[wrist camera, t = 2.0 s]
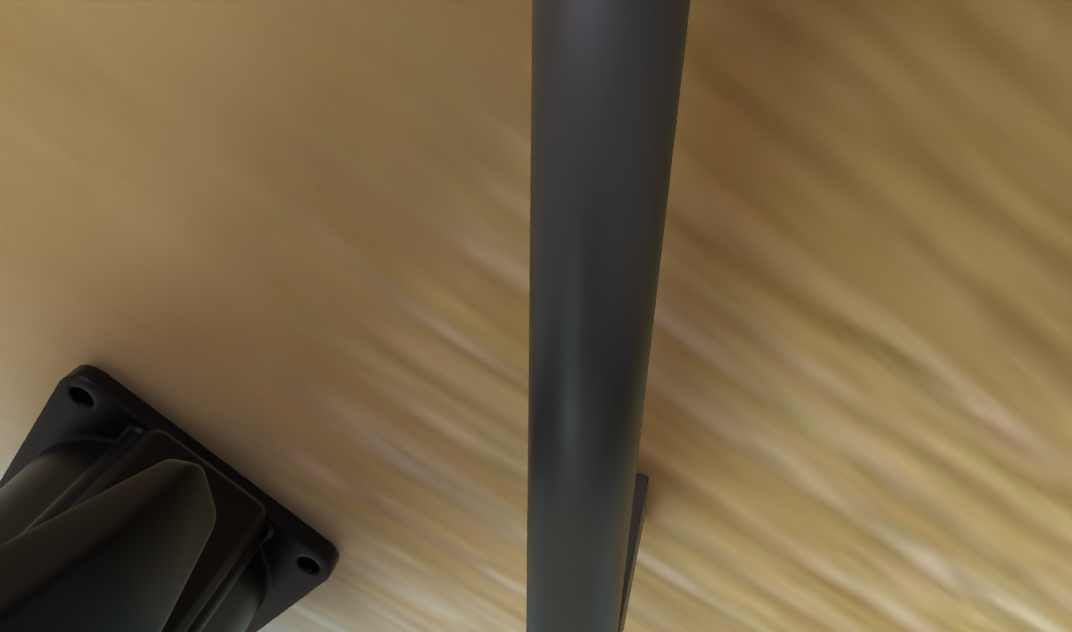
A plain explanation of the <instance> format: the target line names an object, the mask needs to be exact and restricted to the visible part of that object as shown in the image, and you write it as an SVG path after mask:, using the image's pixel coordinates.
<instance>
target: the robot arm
mask: <svg viewBox="0 0 1072 632" xmlns="http://www.w3.org/2000/svg"><path fill="white" fill-rule="evenodd" d="M338 561H339V553H338V551H337V549H336V548H335V546H334V545H333V544H332V543H331V542H329V541H328V540H327V539H326V538H324V537H323V536H322V535H320V534H319V533H318V532H316V531H315V530H314V529H312V528H311V527H310V526H308V525H307V524H306V523H304V522H303V521H302V520H300V519H299V518H298V517H296V516H295V515H294V514H292V513H291V512H290V511H288V510H287V509H286V508H284V507H283V506H282V505H280V504H279V503H278V502H277V501H275V500H274V499H273V498H271V497H270V496H269V495H267V494H266V493H265V492H263V491H262V490H261V489H259V488H258V487H257V486H255V485H254V484H253V483H251V482H250V481H249V480H247V479H246V478H245V477H243V476H242V475H241V474H239V473H238V472H237V471H235V470H234V469H233V468H231V467H230V466H229V465H227V464H226V463H225V462H223V461H222V460H221V459H219V458H218V457H217V456H215V455H214V454H213V453H211V452H210V451H209V450H207V449H206V448H205V447H203V446H202V445H201V444H199V443H198V442H197V441H195V440H194V439H193V438H191V437H190V436H189V435H188V434H186V433H185V432H184V431H182V430H181V429H180V428H178V427H177V426H176V425H174V424H173V423H172V422H170V421H169V420H168V419H166V418H165V417H164V416H162V415H161V414H160V413H158V412H157V411H156V410H154V409H153V408H152V407H150V406H149V405H148V404H146V403H145V402H144V401H142V400H141V399H140V398H138V397H137V396H136V395H134V394H133V393H132V392H130V391H129V390H128V389H126V388H125V387H124V386H122V385H121V384H120V383H118V382H117V381H116V380H114V379H113V378H112V377H110V376H109V375H108V374H106V373H105V372H104V371H102V370H100V369H98V368H97V367H94V366H90V365H79V366H78V367H77V368H76V369H74V370H73V371H72V372H71V373H69V374H68V375H67V376H66V377H64V378H63V379H62V380H61V381H60V382H59V383H58V385H57V387H56V388H55V390H54V392H53V394H52V395H51V397H50V399H49V400H48V402H47V404H46V405H45V407H44V409H43V410H42V412H41V414H40V415H39V417H38V419H37V420H36V422H35V424H34V426H33V427H32V429H31V431H30V432H29V434H28V436H27V437H26V439H25V441H24V442H23V444H22V446H21V447H20V449H19V451H18V452H17V454H16V456H15V458H14V459H13V461H12V463H11V464H10V466H9V468H8V469H7V471H6V473H5V474H4V476H3V478H2V479H1V481H0V632H257V631H258V630H259V629H261V628H262V627H263V626H265V625H266V624H267V623H269V622H270V621H271V620H273V619H274V618H276V617H277V616H278V615H280V614H281V613H282V612H284V611H285V610H286V609H288V608H289V607H290V606H292V605H293V604H294V603H296V602H297V601H298V600H300V599H301V598H303V597H304V596H305V595H307V594H308V593H309V592H311V591H312V590H313V589H315V588H316V587H317V586H319V585H320V584H321V583H323V582H324V581H325V580H327V579H328V577H329V576H330V574H331V573H332V571H333V569H334V568H335V566H336V564H337V562H338Z"/></svg>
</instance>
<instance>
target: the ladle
mask: <svg viewBox="0 0 1072 632" xmlns="http://www.w3.org/2000/svg"><path fill="white" fill-rule="evenodd" d="M689 8H690V0H532V102H531V205H530V308H529V412H528V515H527V618H526V632H623V629H624V624H625V618H626V613H627V608H628V602H629V597H630V591H631V586H632V581H633V575H634V570H635V564H636V559H637V554H638V548H639V543H640V537H641V532H642V527H643V520H644V512H645V505H646V497H647V489H648V481H649V478H648V476H647V475H643V474H638V473H636V469H637V461H638V452H639V443H640V434H641V426H642V417H643V408H644V400H645V391H646V382H647V374H648V365H649V356H650V347H651V339H652V330H653V321H654V313H655V304H656V295H657V286H658V278H659V269H660V260H661V252H662V243H663V234H664V226H665V217H666V208H667V199H668V191H669V182H670V173H671V165H672V156H673V147H674V138H675V130H676V121H677V112H678V104H679V95H680V86H681V78H682V69H683V60H684V51H685V43H686V34H687V25H688V17H689Z"/></svg>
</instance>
